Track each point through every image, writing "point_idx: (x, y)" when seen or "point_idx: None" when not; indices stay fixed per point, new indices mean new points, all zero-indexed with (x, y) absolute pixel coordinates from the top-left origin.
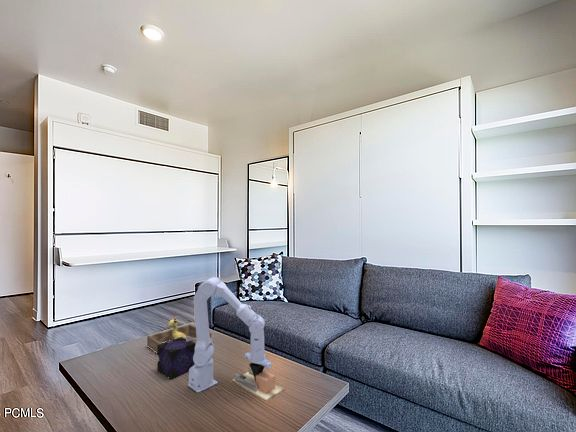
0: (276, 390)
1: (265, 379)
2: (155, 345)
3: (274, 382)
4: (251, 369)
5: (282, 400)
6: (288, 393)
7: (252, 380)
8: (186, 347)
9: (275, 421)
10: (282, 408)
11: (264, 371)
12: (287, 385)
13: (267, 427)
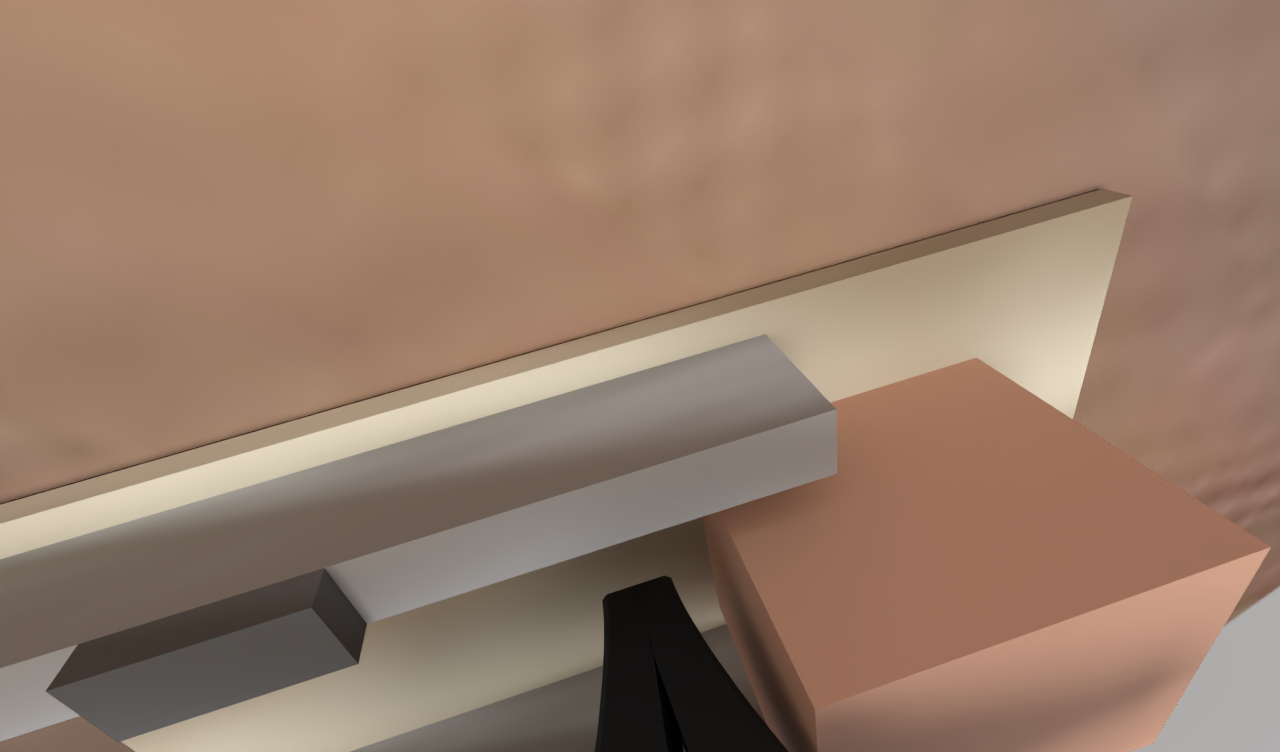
0: (1035, 367)
1: (1114, 743)
2: None
3: (1081, 445)
4: (68, 710)
5: (1200, 373)
6: (1220, 191)
7: (448, 606)
8: None
9: (1262, 561)
10: (1261, 442)
11: (838, 721)
12: (1078, 6)
13: (1225, 624)
